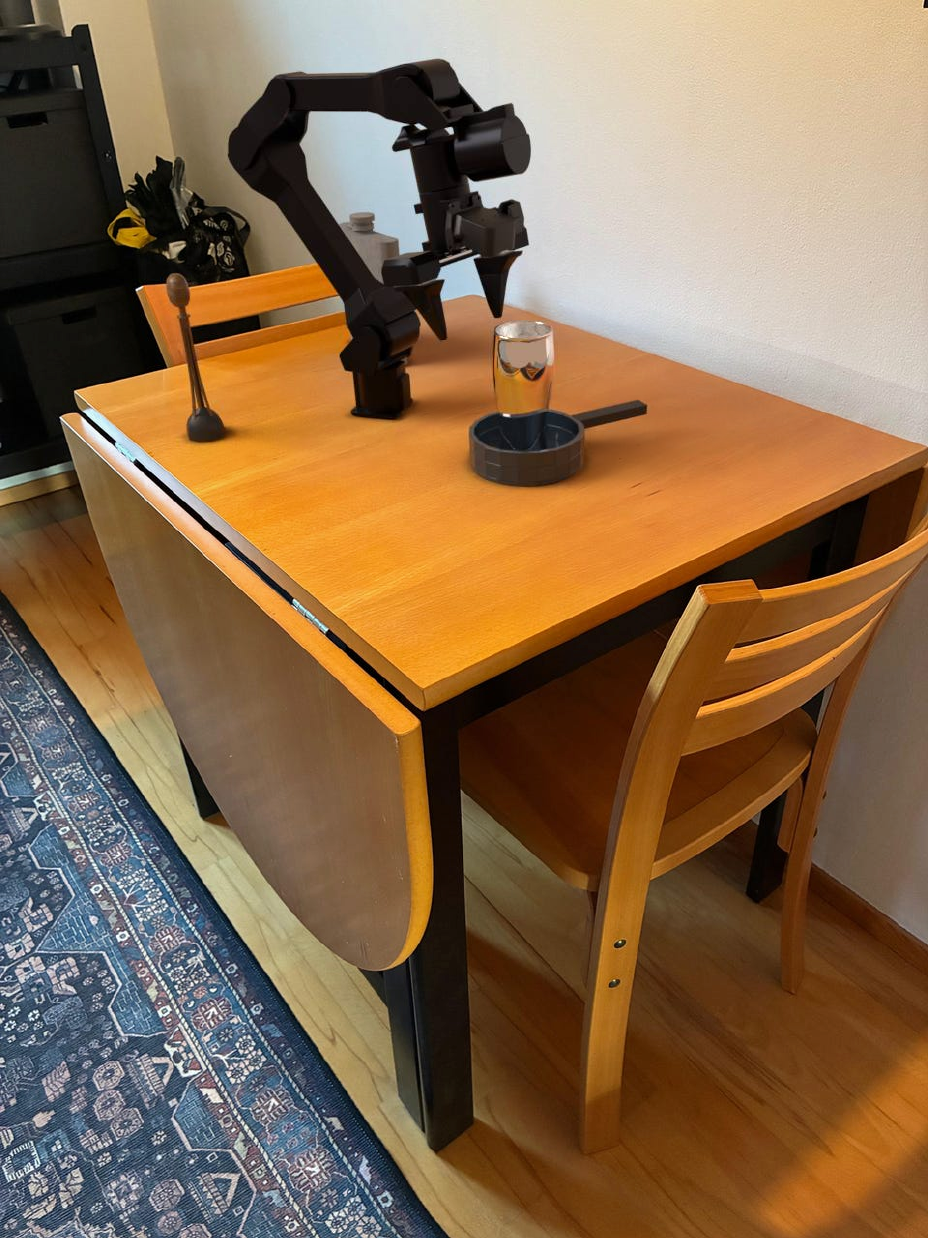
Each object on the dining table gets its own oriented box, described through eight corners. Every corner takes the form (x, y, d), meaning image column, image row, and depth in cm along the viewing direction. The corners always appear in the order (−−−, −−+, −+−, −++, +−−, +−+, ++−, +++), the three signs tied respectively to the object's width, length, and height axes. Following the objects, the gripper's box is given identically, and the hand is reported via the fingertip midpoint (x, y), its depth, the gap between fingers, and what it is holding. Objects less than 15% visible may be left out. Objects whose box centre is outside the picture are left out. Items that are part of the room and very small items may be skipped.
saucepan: (454, 478, 110) (453, 446, 108) (489, 433, 121) (489, 403, 118) (567, 492, 106) (568, 458, 104) (594, 444, 117) (595, 412, 114)
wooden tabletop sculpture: (183, 428, 126) (150, 269, 115) (219, 421, 127) (189, 264, 116) (192, 444, 121) (157, 280, 110) (228, 437, 123) (198, 275, 111)
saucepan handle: (578, 430, 113) (578, 420, 113) (569, 424, 115) (569, 415, 114) (646, 414, 117) (647, 404, 116) (637, 408, 118) (637, 399, 118)
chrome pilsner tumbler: (534, 474, 109) (535, 342, 101) (482, 462, 112) (478, 333, 104) (563, 451, 114) (566, 324, 106) (512, 440, 117) (511, 316, 109)
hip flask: (411, 364, 143) (401, 220, 132) (386, 369, 141) (373, 224, 130) (366, 336, 155) (353, 202, 143) (342, 341, 153) (328, 206, 142)
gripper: (430, 199, 97) (461, 353, 104) (552, 163, 107) (573, 306, 115) (363, 208, 105) (396, 351, 112) (482, 174, 115) (506, 307, 122)
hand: (471, 328), depth 115 cm, fingers open, 9 cm apart
